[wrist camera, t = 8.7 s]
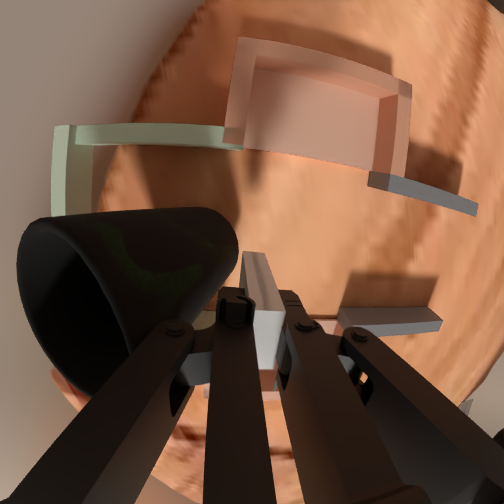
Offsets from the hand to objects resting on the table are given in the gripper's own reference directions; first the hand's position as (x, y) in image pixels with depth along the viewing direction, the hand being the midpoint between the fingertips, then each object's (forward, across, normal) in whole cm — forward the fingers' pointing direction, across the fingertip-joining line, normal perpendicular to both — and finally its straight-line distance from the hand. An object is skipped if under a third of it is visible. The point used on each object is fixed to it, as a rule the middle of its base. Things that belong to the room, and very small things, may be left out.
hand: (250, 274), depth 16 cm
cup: (+4, -3, 0) cm, 5 cm away
